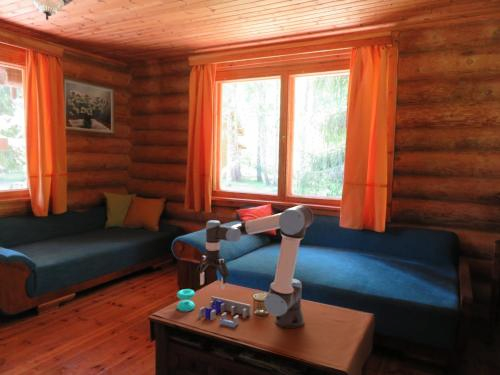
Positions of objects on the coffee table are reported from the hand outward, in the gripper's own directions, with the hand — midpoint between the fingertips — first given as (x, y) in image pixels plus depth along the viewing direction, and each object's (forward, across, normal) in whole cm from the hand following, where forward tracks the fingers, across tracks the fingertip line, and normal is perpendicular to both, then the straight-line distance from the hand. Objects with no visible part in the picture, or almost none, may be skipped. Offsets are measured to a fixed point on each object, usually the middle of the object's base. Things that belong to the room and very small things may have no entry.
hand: (212, 286), depth 201 cm
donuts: (+16, +17, +2) cm, 23 cm away
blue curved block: (+16, 0, 0) cm, 16 cm away
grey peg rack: (+16, -7, 0) cm, 17 cm away
